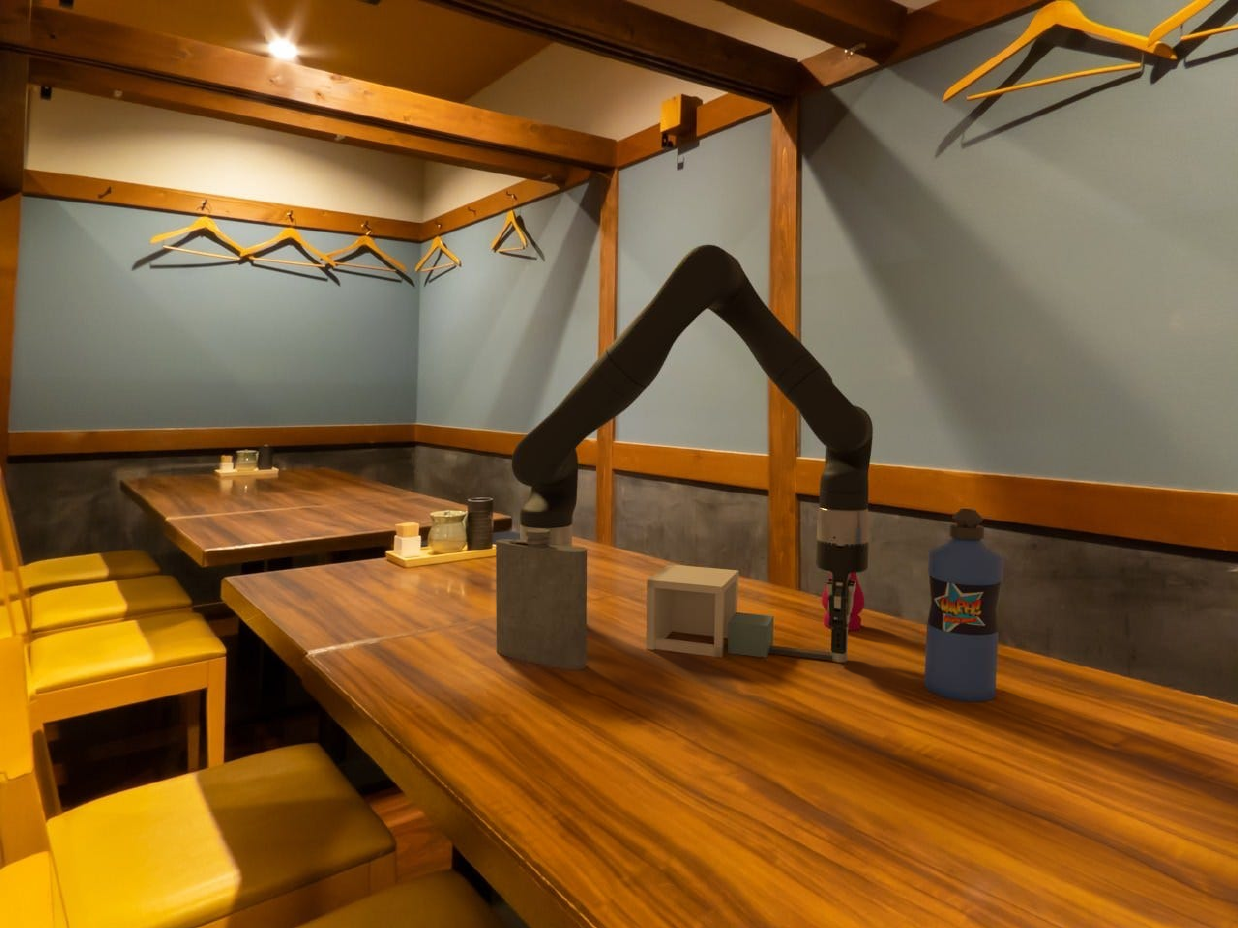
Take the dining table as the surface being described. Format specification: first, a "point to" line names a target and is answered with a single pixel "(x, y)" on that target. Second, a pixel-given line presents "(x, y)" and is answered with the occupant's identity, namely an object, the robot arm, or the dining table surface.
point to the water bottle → (963, 613)
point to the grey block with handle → (767, 639)
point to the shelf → (690, 607)
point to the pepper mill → (857, 608)
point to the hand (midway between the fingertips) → (839, 649)
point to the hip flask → (541, 601)
